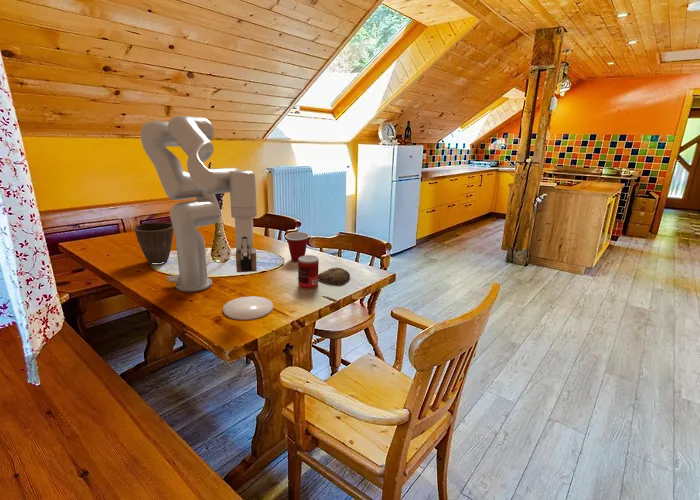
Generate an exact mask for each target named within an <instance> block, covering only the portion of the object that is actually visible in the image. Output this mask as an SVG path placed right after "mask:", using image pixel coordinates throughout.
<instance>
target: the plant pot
mask: <svg viewBox="0 0 700 500" xmlns="http://www.w3.org/2000/svg"><path fill="white" fill-rule="evenodd" d="M133 230H134V232H135V235H136V238H137V242H138V245H139V247H140V250H141V251H142V253H143V256H144V257H145V259H146V261H147V262H148V264H150V265H153V264H152V263H162V262H166V261H167V260H168V261H169V258H170V254H171V250H172V247H173V246H172V244H173V238H174V228H173V225H172V223H169V222H147V223H143V224H142V223H141V224H138V225H136V226H134V228H133ZM168 261H167V262H168ZM167 262H166V263H167Z"/></svg>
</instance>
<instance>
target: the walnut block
mask: <svg viewBox="0 0 700 500" xmlns="http://www.w3.org/2000/svg"><path fill="white" fill-rule="evenodd" d="M242 249H243V248H242ZM247 249H249V248H247ZM247 252H248V251H247ZM248 256H249V255H248ZM250 258H251V262H252V271H241V248H240V249H238V250H236V249H235V264H236V265H235V268H236V269H235V270H236V273H254V272H258V271H257V248H256V247H252V249H251V250H250Z"/></svg>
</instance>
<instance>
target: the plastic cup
mask: <svg viewBox="0 0 700 500" xmlns="http://www.w3.org/2000/svg"><path fill="white" fill-rule="evenodd" d="M309 238H310V233H307V232H304V231H293V232H289V233H287V234H285V240H286V241H287V245H288V250H289V254H290V259H291V261H292V262H297V263H298V258H299V257H301V256H305V255H306V251H307V245H308V240H309Z"/></svg>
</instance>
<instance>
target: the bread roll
mask: <svg viewBox="0 0 700 500" xmlns="http://www.w3.org/2000/svg"><path fill="white" fill-rule="evenodd" d="M350 278H351V274H350V273H349V272H348V270H346V269H344V268H342V267H331V268H328V269H327V270H325V271H322V272H320V273H318V281H320V282H323V283H327V284H332V285H338V286H340V285H343V284H346V283H348V282H349V280H350Z"/></svg>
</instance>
